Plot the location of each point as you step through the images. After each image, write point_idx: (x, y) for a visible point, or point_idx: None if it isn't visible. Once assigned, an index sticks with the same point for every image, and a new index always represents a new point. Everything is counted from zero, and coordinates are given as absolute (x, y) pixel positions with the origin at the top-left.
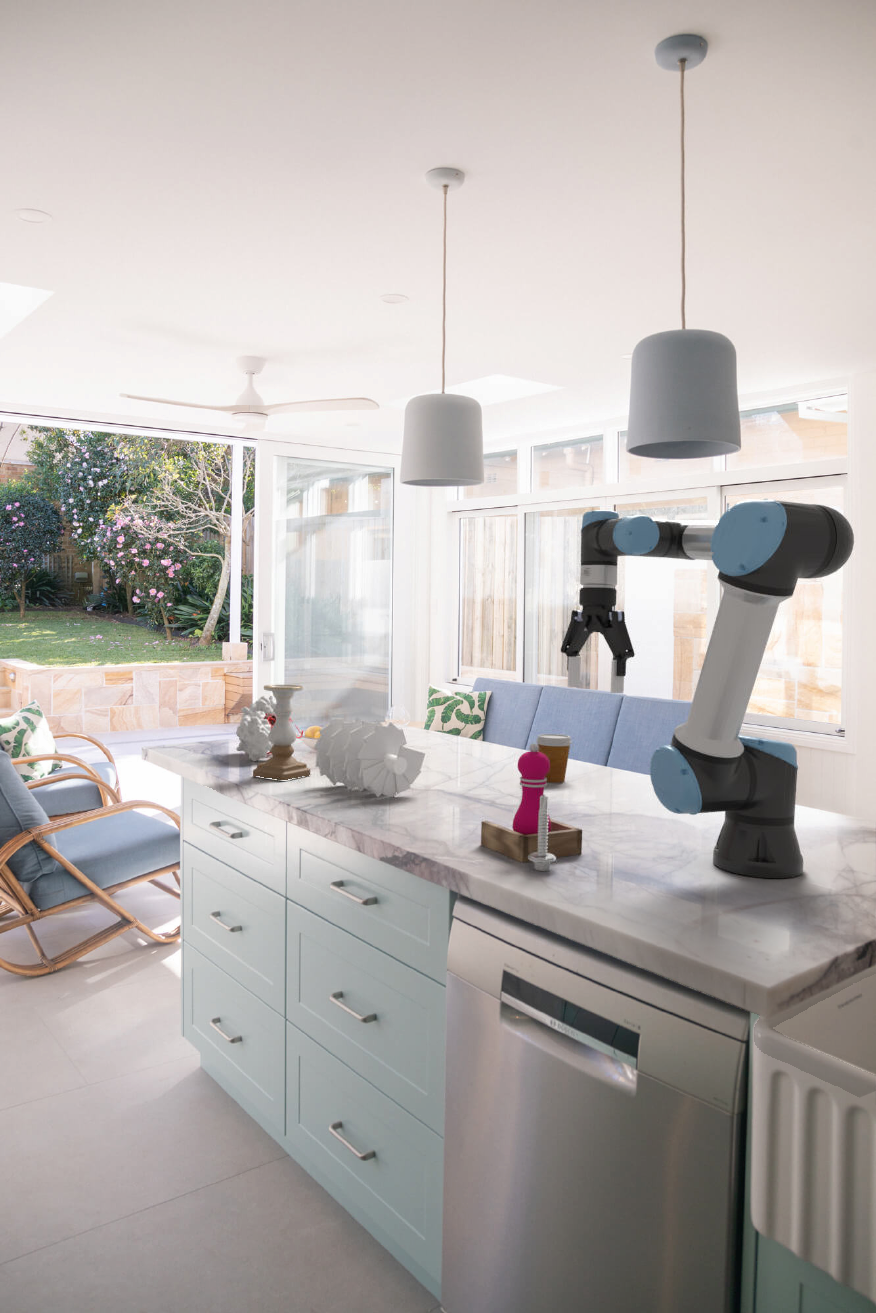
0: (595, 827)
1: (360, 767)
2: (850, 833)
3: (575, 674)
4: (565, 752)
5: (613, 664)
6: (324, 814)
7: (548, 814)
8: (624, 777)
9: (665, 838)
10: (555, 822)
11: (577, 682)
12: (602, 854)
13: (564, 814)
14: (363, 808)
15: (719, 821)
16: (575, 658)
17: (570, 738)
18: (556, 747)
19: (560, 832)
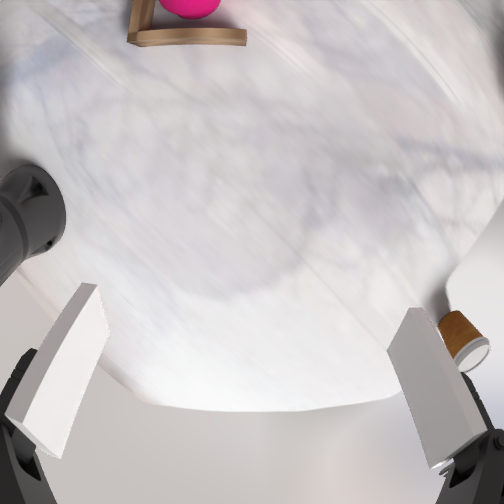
0: (247, 171)
1: None
2: (114, 370)
3: (418, 377)
4: (451, 351)
5: (19, 395)
6: None
7: (166, 1)
8: (397, 384)
9: (150, 212)
10: (184, 29)
11: (399, 357)
12: (125, 72)
13: (337, 194)
14: (489, 14)
15: (193, 331)
16: (448, 445)
17: None
18: (462, 346)
19: (132, 5)
